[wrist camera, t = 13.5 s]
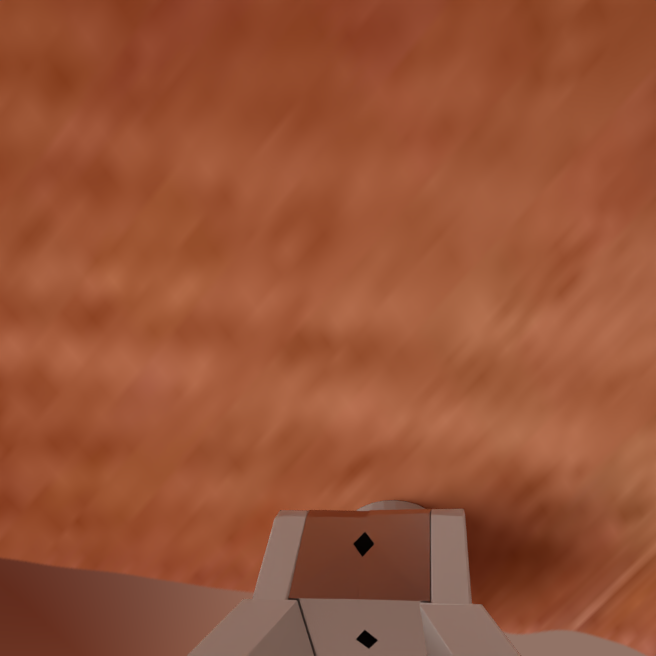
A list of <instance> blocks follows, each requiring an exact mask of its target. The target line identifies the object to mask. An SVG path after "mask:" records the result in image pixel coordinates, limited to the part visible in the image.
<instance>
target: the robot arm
mask: <svg viewBox="0 0 656 656" xmlns="http://www.w3.org/2000/svg"><path fill="white" fill-rule="evenodd" d="M187 656H521V655H520V654H519V652H518V651H517V650H516V649H515V647H514V646H513V645H512V643H511V642H510V641H509V639H508V638H507V637H506V635H505V634H504V633H503V631H502V630H501V629H500V628H499V626H498V625H497V624H496V622H495V621H494V620H493V618H492V617H491V616H490V614H489V613H488V612H487V610H486V609H485V608H484V607H483V605H482V604H472V598H471V585H470V572H469V559H468V546H467V533H466V520H465V512H464V509H432V510H431V509H400V510H369V511H336V510H280V511H279V513H278V514H277V516H276V517H275V519H274V523H273V527H272V530H271V534H270V537H269V541H268V544H267V548H266V552H265V555H264V559H263V562H262V566H261V569H260V573H259V577H258V580H257V584H256V587H255V591H254V595H253V598H252V599H243V600H242V601H241V602H240V603H239V604H238V605H237V606H236V607H235V608H234V609H233V610H232V611H231V612H230V613H229V614H228V615H227V616H226V617H225V618H224V619H223V620H222V621H221V622H220V623H219V624H218V625H217V626H216V627H215V628H214V629H213V630H212V631H211V632H210V633H209V634H208V635H207V636H206V637H205V638H204V639H203V640H202V641H201V642H200V643H199V644H198V645H197V646H196V647H195V648H194V649H193V650H192V651H191V652H190V653H189V654H188V655H187Z"/></svg>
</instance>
